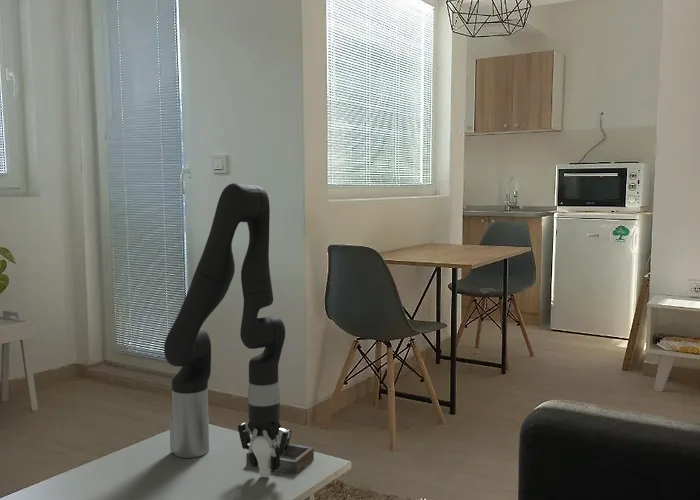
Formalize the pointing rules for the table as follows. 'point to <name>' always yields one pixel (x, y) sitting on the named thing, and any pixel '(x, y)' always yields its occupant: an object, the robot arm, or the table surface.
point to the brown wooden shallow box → (293, 466)
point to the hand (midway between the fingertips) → (264, 467)
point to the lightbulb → (263, 455)
